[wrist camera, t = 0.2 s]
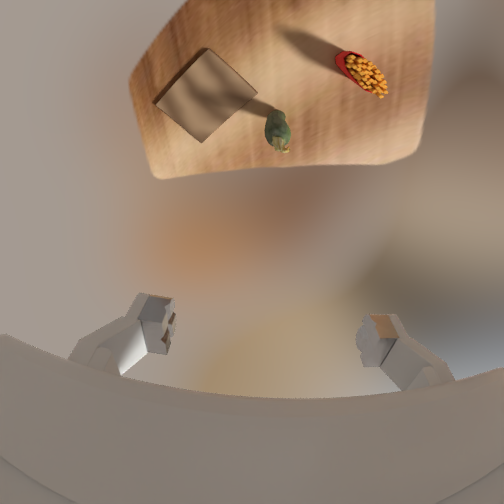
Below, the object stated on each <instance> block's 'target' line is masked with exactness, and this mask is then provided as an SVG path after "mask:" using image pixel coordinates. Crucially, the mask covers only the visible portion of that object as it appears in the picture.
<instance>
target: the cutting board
mask: <svg viewBox="0 0 504 504" xmlns="http://www.w3.org/2000/svg"><path fill="white" fill-rule="evenodd" d="M257 94H258V92H257V91H256V90H255V89H254V88H253V87H252V86H251V85H250V84H249V83H248V82H247V81H246V80H244V79H243V78H242V77H241V76H240V75H239V74H238V73H237V72H236V71H235V70H234V69H233V68H232V67H230V66H229V65H228V64H227V63H226V62H225V61H224V60H223V59H221V58H220V57H219V56H218V55H217V54H216V53H214V52H213V51H212V50H211V49H208V50H207V51H206V52H205V53H204V54H203V55H202V56H200V57H199V58H198V59H197V60H196V61H195V62H194V63H193V64H192V65H191V66H190V68H189V69H188V70H187V71H186V72H185V73H184V74H183V75H182V76H181V77H180V78H179V79H178V80H177V81H176V82H175V83H174V85H173V86H172V87H171V88H170V89H169V90H168V91H167V92H166V94H165V95H164V96H163V97H162V98H161V99H160V101H159V102H158V103H157V104H156V106H158V107H159V108H160V109H161V110H162V111H164V112H165V113H166V114H167V115H168V116H170V117H171V118H172V119H173V120H174V121H176V122H177V123H178V124H179V125H180V126H182V127H183V128H184V129H185V130H186V131H187V132H189V133H190V134H191V135H192V136H193V137H195V138H196V139H197V140H198V141H199V142H200V143H202V142H203V141H204V140H206V139H207V138H208V137H209V136H210V135H211V134H212V133H213V132H214V131H215V130H216V129H217V128H218V127H220V126H221V125H222V124H223V123H224V122H225V121H226V120H227V119H228V118H230V117H231V116H232V115H233V114H234V113H235V112H236V111H238V110H239V109H240V108H241V107H242V106H243V105H245V104H246V103H247V102H248V101H249V100H251V99H252V98H253V97H254V96H255V95H257Z"/></svg>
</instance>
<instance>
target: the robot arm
mask: <svg viewBox="0 0 504 504" xmlns="http://www.w3.org/2000/svg"><path fill="white" fill-rule="evenodd" d="M174 307H175V302H174V299H173V298H169V297H163V296H157V295H150V294H144V293H139V294H138V295H137V296H136V298H135V300H134V301H133V303H132V305H131V307H130V309H129V310H128V312H127V314H126V316H125V317H120V318H118V319H116V320H115V321H113V322H111V323H109V324H107V325H105V326H104V327H102V328H100V329H98V330H96V331H95V332H93V333H91V334H89V335H87V336H85V337H84V338H82V339H80V340H79V341H78V343H77V344H76V346H75V348H74V350H73V351H72V353H71V354H70V356H69V358H68V360H67V359H64V358H61V357H59V356H56V355H53V354H51V353H48V352H46V351H43V350H41V349H38V348H36V347H34V346H31V345H29V344H26V343H24V342H22V341H20V340H18V339H16V338H14V337H12V336H10V335H7V334H1V335H0V504H504V368H503V367H499V368H496V369H493V370H490V371H487V372H484V373H480V374H477V375H474V376H470V377H466V378H463V379H459V380H455V379H454V377H453V375H452V373H451V371H450V369H449V367H448V365H447V363H446V362H444V361H443V360H442V359H440V358H439V357H437V356H436V355H435V354H433V353H432V352H431V351H429V350H428V349H427V348H425V347H424V346H423V345H421V344H419V343H418V342H417V341H416V340H414V339H413V338H409V336H408V335H407V333H406V331H405V329H404V327H403V325H402V323H401V322H400V320H399V318H398V316H397V315H395V314H385V315H384V314H381V315H380V314H366V315H365V317H364V319H363V320H362V322H363V326H361V327H360V328H359V329H358V332H357V334H356V345H357V348H358V349H359V350H360V351H361V352H362V353H361V356H360V357H361V360H362V363H363V366H364V367H380V368H381V369H382V370H383V371H384V372H385V373H386V375H387V376H389V378H390V379H391V380H392V381H393V382H394V383H395V384H396V385H397V386H398V387H399V388H400V389H401V390H402V391H398V392H391V393H383V394H375V395H365V396H353V397H337V398H309V399H308V398H305V399H304V398H298V399H297V398H295V399H294V398H293V399H292V398H263V397H246V396H235V395H225V394H216V393H207V392H199V391H193V390H186V389H180V388H174V387H169V386H164V385H158V384H154V383H149V382H144V381H140V380H135V379H131V378H127V377H123V376H121V375H122V374H123V373H124V372H126V371H127V370H128V369H129V368H130V367H131V366H133V365H134V364H135V363H136V362H137V361H139V360H140V359H141V358H142V357H143V356H145V355H146V354H147V352H151V353H157V354H164V355H167V353H168V350H169V347H170V344H171V341H170V337H172V336H173V335H174V332H175V326H176V314H175V313H174V312H173V310H174Z"/></svg>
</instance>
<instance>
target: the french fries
mask: <svg viewBox="0 0 504 504" xmlns="http://www.w3.org/2000/svg"><path fill="white" fill-rule="evenodd" d="M335 60H336V65H337V66H338V67H339V68H340V69H341V70H342V71H343V72H344V73H345V74H346V75H347V76H348V77H349V78H350V79H351V80H352V81H353V82H355V83H356V84H357V85H359V86H360V87H361V88H363V89H364V90H365V91H368V92H371V93H373V94H376V95H377V96H378V97H380V98H383V97H384V96H383V95H382V94H380V93H382V92H383V93H384V94H388V91H387V90H386V89H385V88H387V86H386V85H385V84H386V83H387V82H386V81H385V80H384V79H382V78H384V76H383V74H380V73H381V72H380V71H379V69H376V66H375V65H373V64H372V62H370V61H367V59H366V58H364V57H363V56H362V55H361V54H358V53H355V52H352V51H342V52H341V53H340V54H338V55H337V56H336V57H335Z"/></svg>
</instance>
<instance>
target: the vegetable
mask: <svg viewBox="0 0 504 504" xmlns="http://www.w3.org/2000/svg"><path fill="white" fill-rule="evenodd" d="M285 117H286V116H285V114H284V113H283V112H282V111H280V110H275V111H272V112H271V113H270V114H269V115H268V117H267V121H266V125H265V137H266V139H267V141H268V143H269V144H270V145H272V146H274V147H275V150H276V151H281V152H282V153H285V152H286V153H287V152H289V151H290V148H289V147H288V148H285V147H284V146H285V145H286V144H287V143H288V142H289V141H290V137H291V132H290V128H289V126H288V125H287V123H286V121H285Z"/></svg>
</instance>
